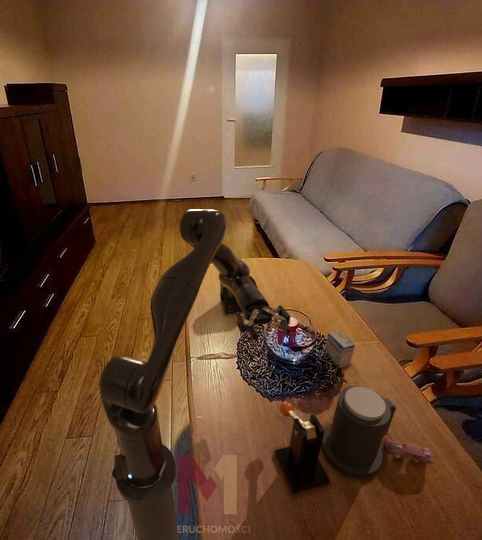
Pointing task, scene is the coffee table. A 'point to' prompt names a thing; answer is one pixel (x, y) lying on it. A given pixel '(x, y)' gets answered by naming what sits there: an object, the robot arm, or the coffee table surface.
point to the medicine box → (339, 349)
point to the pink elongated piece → (409, 451)
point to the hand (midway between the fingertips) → (272, 335)
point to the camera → (230, 299)
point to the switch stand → (303, 458)
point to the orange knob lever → (288, 410)
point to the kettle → (358, 432)
